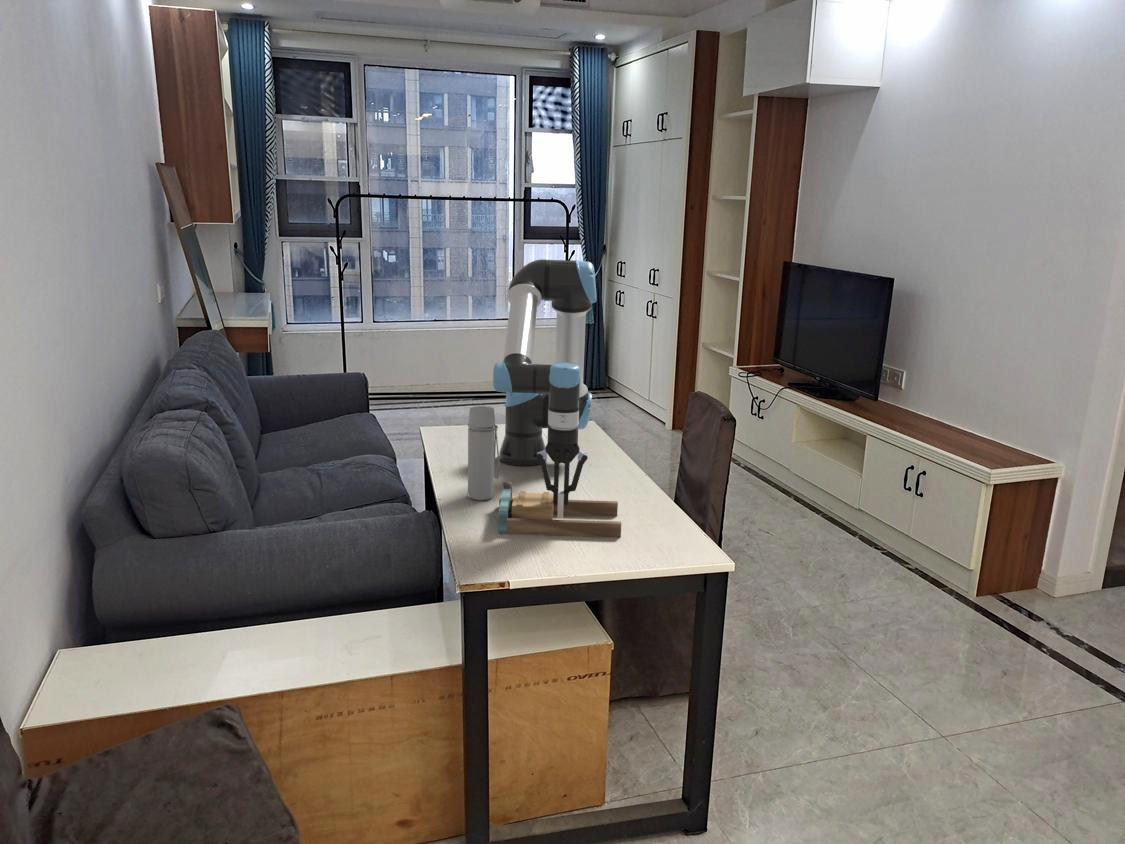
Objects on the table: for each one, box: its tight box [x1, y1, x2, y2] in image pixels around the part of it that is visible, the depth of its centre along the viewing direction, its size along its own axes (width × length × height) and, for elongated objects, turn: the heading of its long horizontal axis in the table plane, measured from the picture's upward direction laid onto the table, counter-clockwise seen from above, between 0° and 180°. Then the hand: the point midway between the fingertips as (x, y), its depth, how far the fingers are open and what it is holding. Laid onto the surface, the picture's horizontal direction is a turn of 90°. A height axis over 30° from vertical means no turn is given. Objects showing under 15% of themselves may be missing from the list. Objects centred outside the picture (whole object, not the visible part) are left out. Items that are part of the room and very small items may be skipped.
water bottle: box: [467, 405, 501, 502], centre depth 226 cm, size 9×8×25 cm
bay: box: [497, 480, 622, 538], centre depth 213 cm, size 20×31×7 cm, turn 90°
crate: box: [511, 490, 554, 520], centre depth 212 cm, size 10×10×6 cm
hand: (560, 516), depth 211 cm, fingers closed
